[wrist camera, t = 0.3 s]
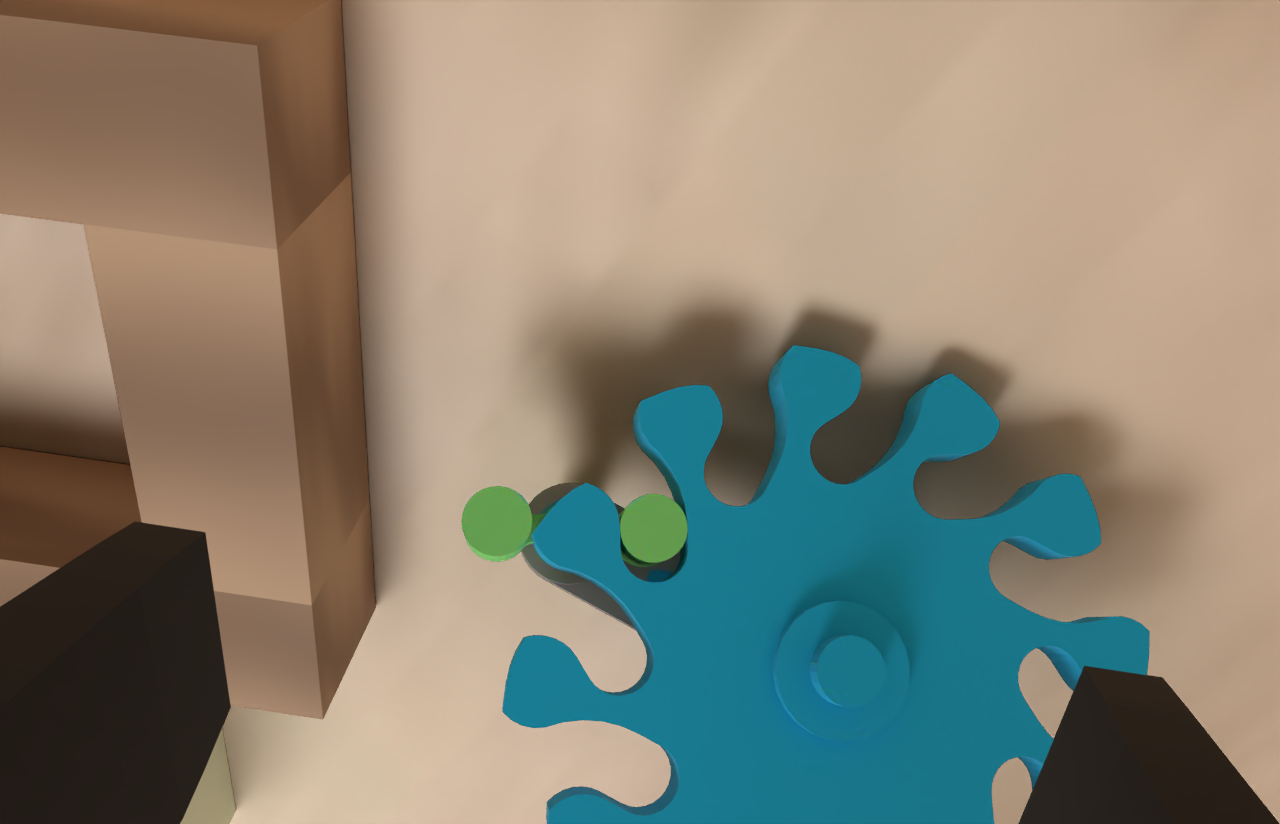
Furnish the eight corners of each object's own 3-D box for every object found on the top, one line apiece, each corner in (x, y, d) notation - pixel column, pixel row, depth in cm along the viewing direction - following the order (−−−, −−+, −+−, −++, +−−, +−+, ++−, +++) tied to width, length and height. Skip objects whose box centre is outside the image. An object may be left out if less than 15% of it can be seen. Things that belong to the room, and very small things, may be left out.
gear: (1270, 534, 18) (1015, 1185, 15) (1079, 559, 23) (874, 1034, 21) (647, 185, 17) (296, 791, 15) (609, 297, 23) (351, 748, 21)
